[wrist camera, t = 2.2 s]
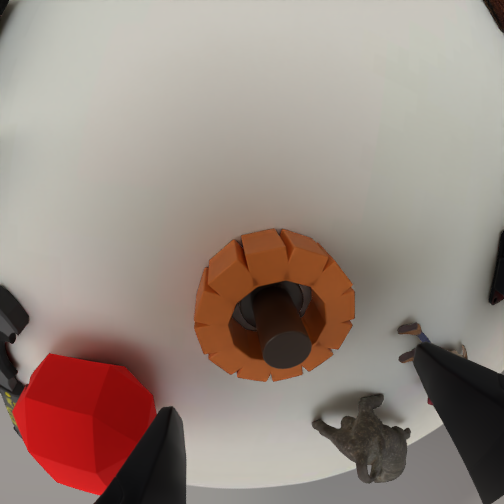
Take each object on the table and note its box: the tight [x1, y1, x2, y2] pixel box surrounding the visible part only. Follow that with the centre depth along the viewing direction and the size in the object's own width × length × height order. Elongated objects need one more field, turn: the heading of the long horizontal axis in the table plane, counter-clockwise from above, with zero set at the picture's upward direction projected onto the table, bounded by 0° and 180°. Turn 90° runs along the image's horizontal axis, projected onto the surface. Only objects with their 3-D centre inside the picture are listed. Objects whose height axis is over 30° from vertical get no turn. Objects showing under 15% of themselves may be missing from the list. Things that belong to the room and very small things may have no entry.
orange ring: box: [194, 228, 355, 382], centre depth 14 cm, size 7×7×2 cm
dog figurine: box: [312, 395, 411, 483], centre depth 17 cm, size 12×6×8 cm, turn 41°
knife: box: [0, 285, 29, 439], centre depth 16 cm, size 23×2×5 cm
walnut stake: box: [239, 281, 312, 369], centre depth 13 cm, size 3×3×4 cm
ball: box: [12, 353, 157, 495], centre depth 12 cm, size 8×8×8 cm
